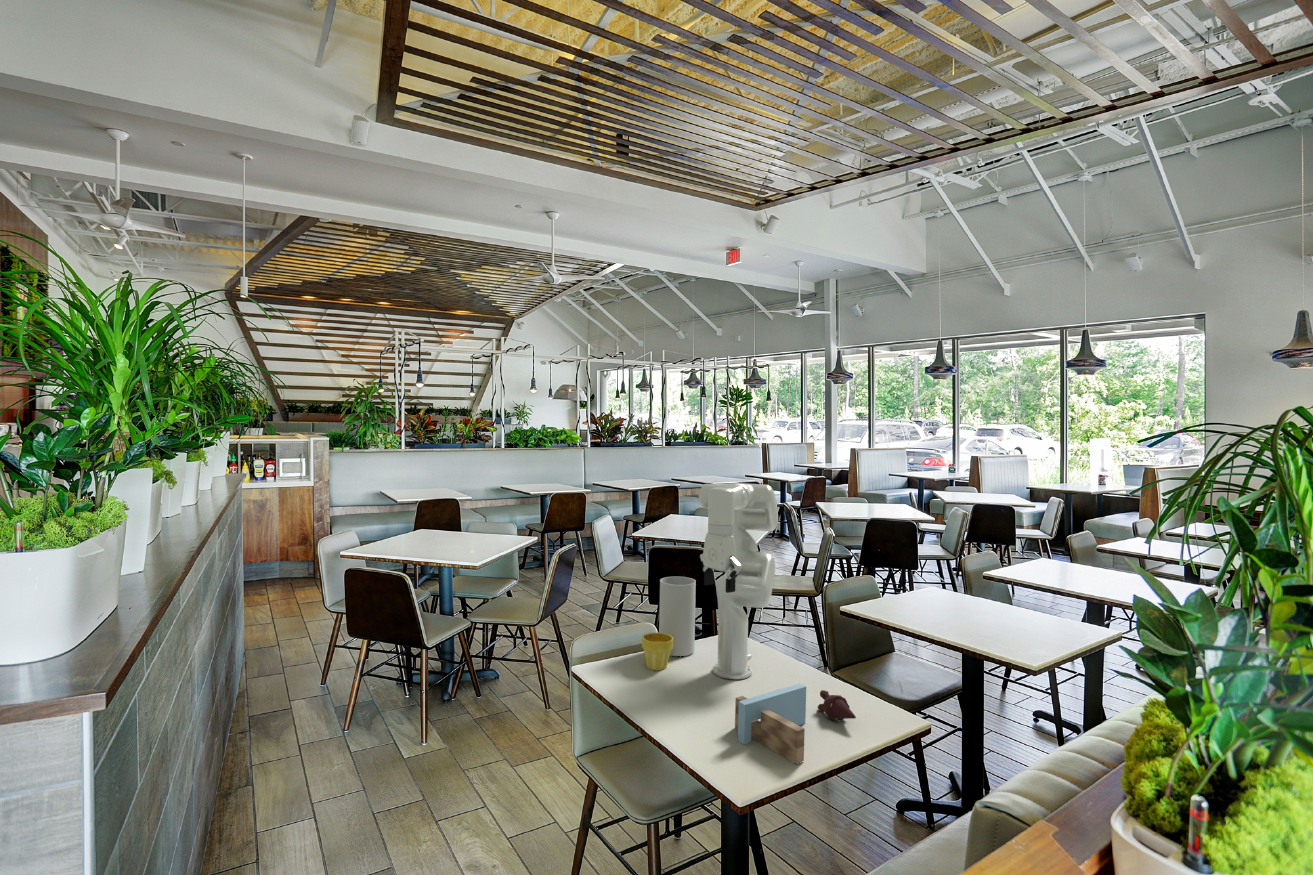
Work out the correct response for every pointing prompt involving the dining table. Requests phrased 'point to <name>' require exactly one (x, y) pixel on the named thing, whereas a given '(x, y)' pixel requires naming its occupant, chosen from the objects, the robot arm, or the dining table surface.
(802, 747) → the walnut board
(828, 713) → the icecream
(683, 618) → the cylinder vase
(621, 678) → the dining table surface
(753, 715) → the slotted plate
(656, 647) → the plant pot
